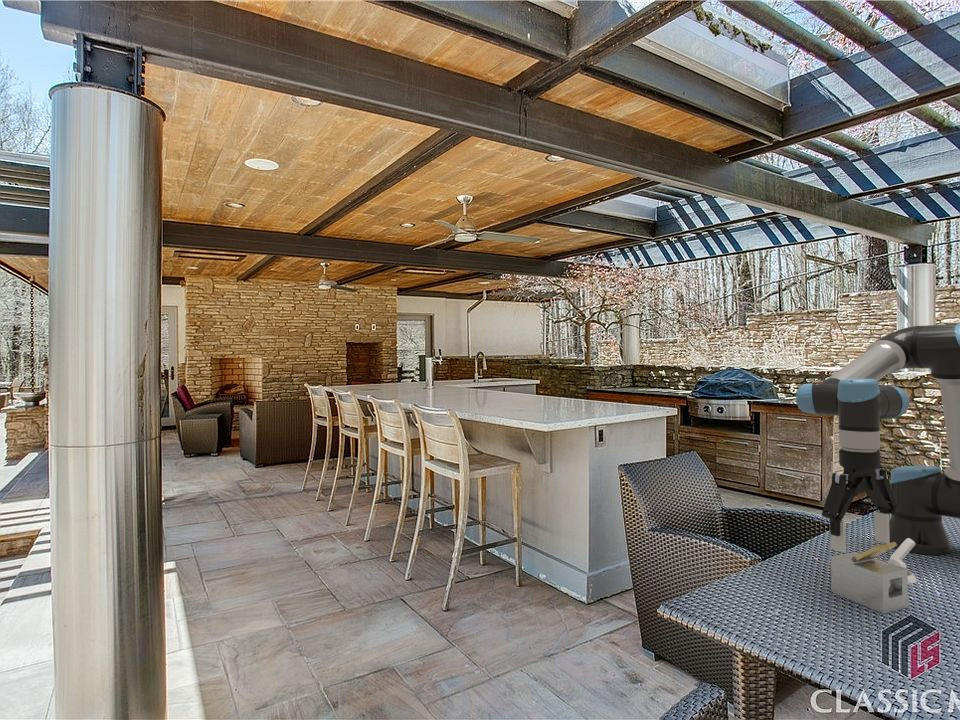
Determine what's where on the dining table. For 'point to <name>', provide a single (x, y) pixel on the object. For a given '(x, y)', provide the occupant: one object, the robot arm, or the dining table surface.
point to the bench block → (869, 582)
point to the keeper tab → (873, 552)
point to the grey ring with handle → (900, 554)
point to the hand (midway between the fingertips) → (860, 546)
